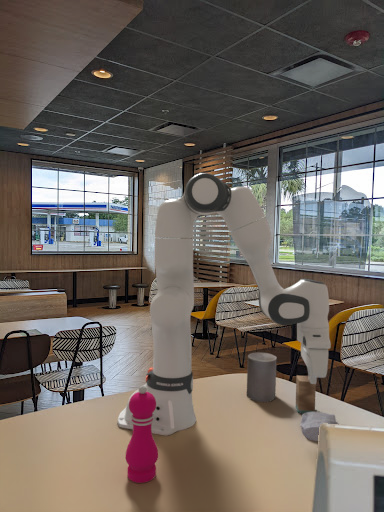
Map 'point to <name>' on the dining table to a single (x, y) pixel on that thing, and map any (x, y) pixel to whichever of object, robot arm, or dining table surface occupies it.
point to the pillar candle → (261, 377)
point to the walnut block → (305, 395)
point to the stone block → (315, 423)
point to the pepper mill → (142, 438)
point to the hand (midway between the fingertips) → (312, 382)
